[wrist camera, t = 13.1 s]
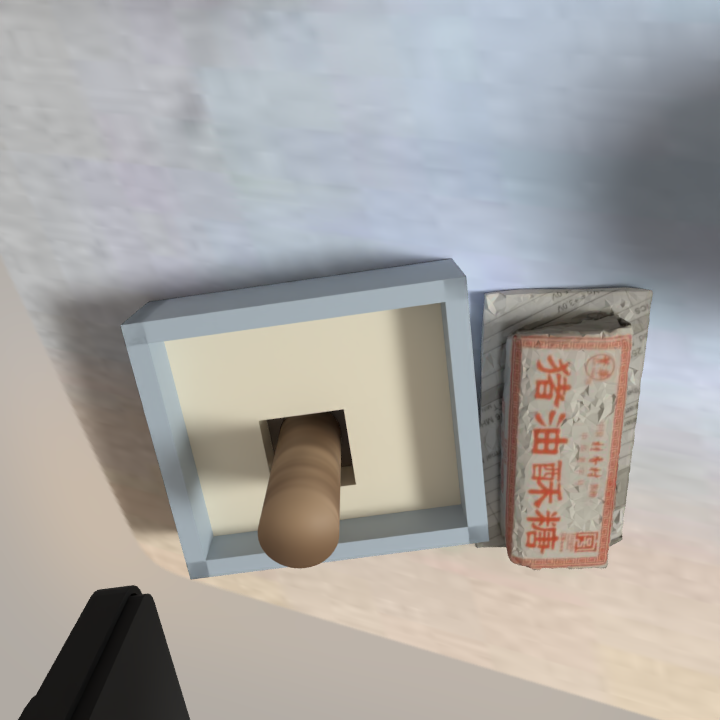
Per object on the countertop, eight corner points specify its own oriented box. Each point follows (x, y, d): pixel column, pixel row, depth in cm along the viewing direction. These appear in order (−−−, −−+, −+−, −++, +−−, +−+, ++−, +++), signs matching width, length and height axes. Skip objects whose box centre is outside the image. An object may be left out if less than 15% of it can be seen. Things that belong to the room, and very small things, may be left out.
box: (148, 302, 39) (120, 325, 34) (451, 258, 38) (466, 276, 34) (207, 531, 44) (190, 579, 40) (474, 497, 44) (489, 541, 39)
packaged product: (642, 578, 41) (486, 584, 41) (613, 533, 45) (472, 538, 45) (681, 302, 35) (497, 308, 35) (643, 282, 39) (480, 288, 39)
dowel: (274, 410, 41) (250, 504, 31) (336, 402, 41) (332, 493, 31) (285, 465, 43) (266, 572, 32) (345, 457, 43) (344, 562, 32)
